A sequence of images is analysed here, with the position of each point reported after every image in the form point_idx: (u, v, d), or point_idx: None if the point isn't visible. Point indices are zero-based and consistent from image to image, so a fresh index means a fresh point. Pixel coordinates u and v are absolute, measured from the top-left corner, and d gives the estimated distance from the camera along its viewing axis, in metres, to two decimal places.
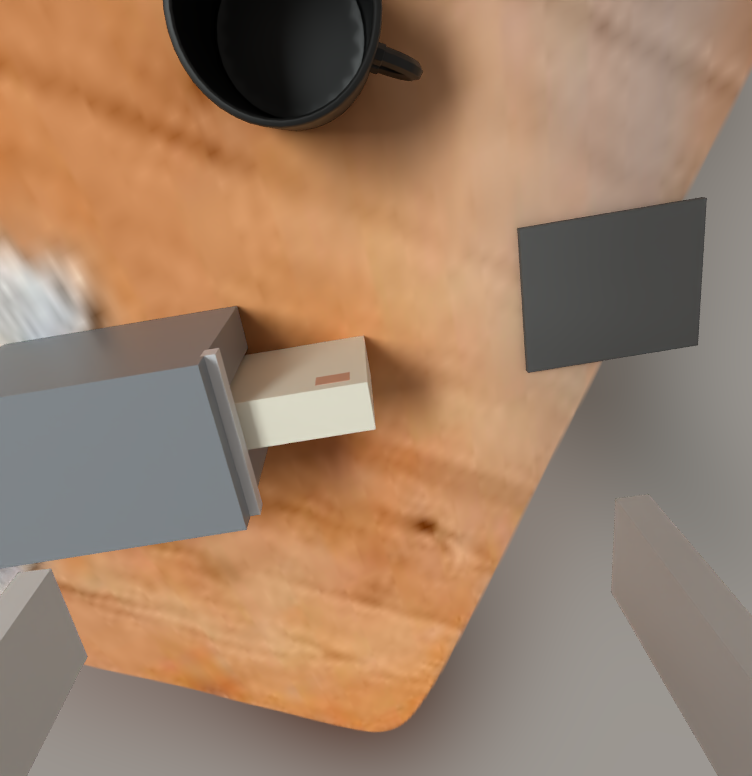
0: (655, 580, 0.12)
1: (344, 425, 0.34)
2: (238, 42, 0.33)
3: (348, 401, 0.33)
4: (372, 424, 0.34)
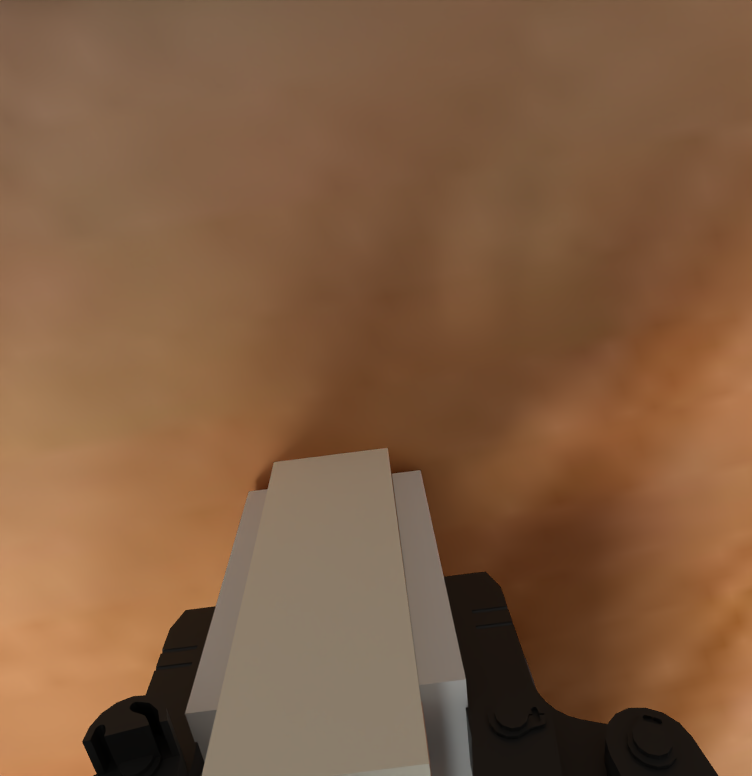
0: None
1: None
2: None
3: None
4: (404, 773, 0.08)
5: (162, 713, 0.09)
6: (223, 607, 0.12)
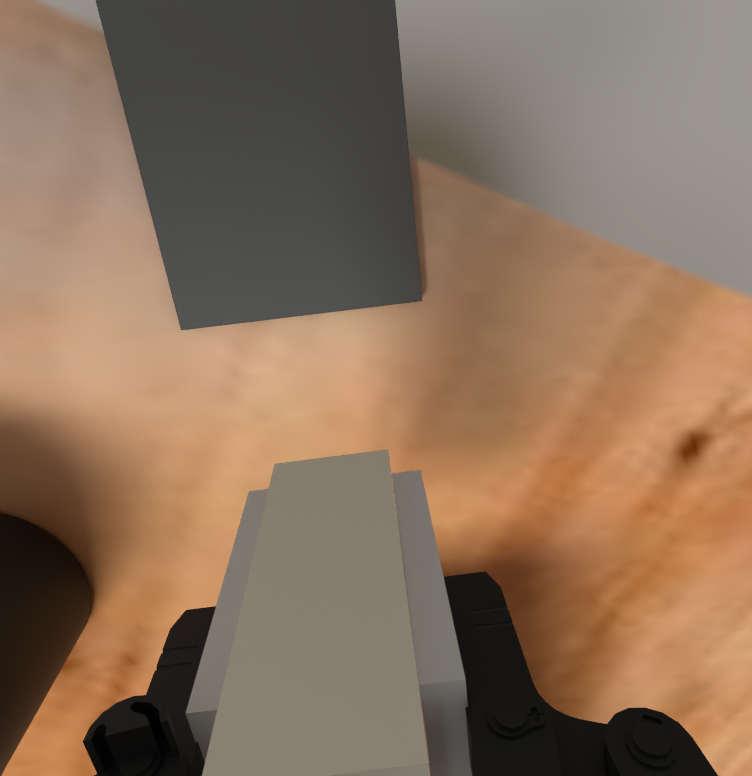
0: None
1: None
2: None
3: None
4: (404, 773, 0.08)
5: (163, 713, 0.09)
6: (224, 607, 0.12)
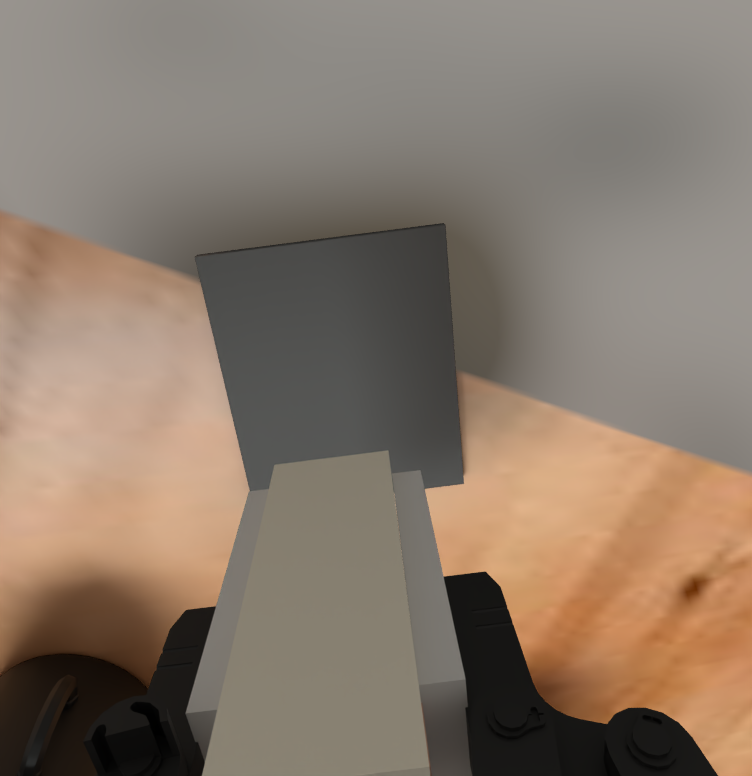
0: None
1: None
2: None
3: None
4: None
5: (163, 713, 0.09)
6: (224, 607, 0.12)
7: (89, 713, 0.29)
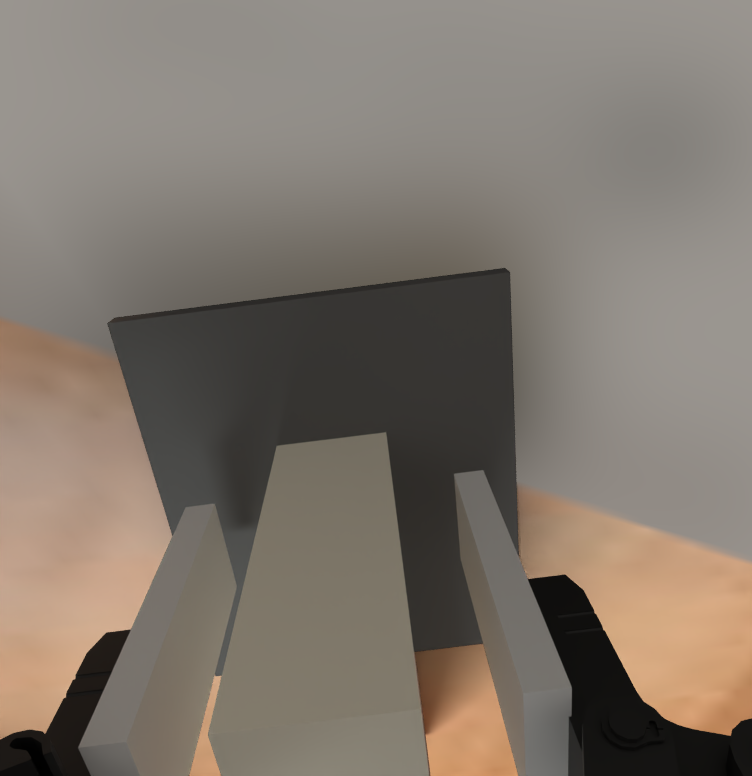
0: (469, 542, 0.13)
1: None
2: None
3: None
4: (398, 718, 0.08)
5: (45, 745, 0.09)
6: (138, 632, 0.11)
7: None
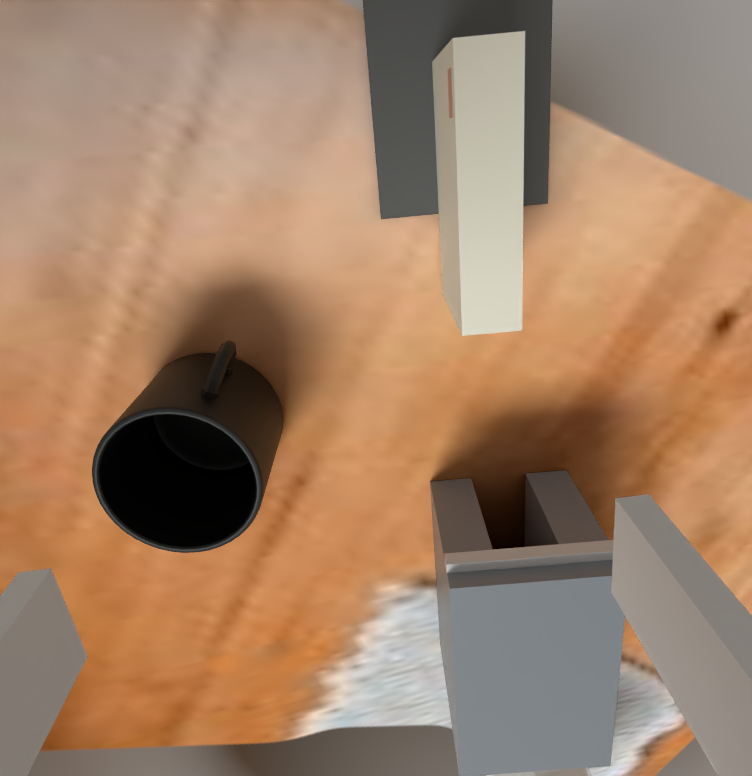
0: (655, 580, 0.12)
1: (511, 78, 0.25)
2: (218, 455, 0.42)
3: (477, 69, 0.25)
4: (516, 35, 0.25)
5: None
6: None
7: (241, 381, 0.37)
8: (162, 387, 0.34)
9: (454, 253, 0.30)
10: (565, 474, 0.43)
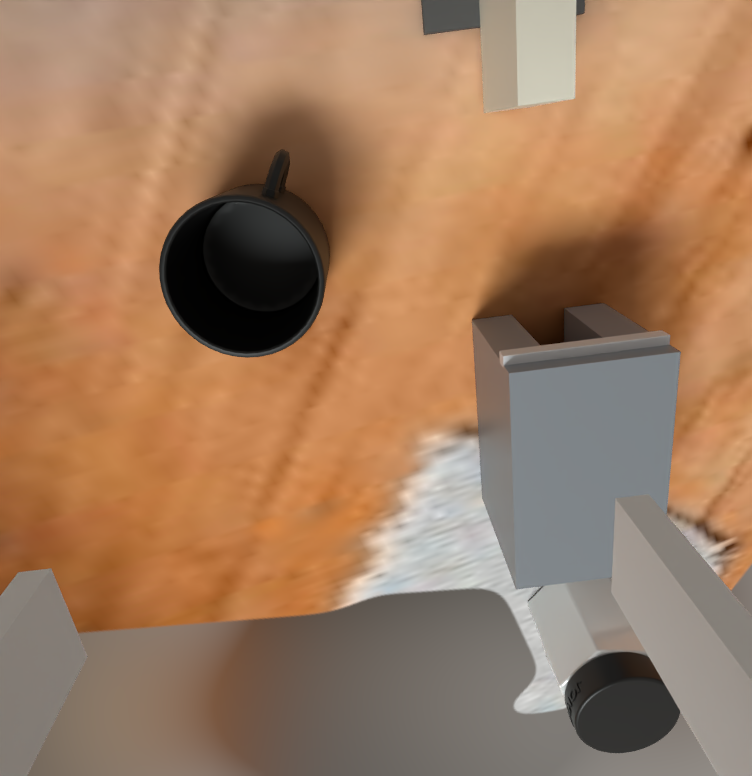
0: (655, 580, 0.12)
1: None
2: (266, 295, 0.43)
3: None
4: None
5: None
6: None
7: (294, 200, 0.38)
8: None
9: (507, 28, 0.31)
10: (603, 305, 0.44)
